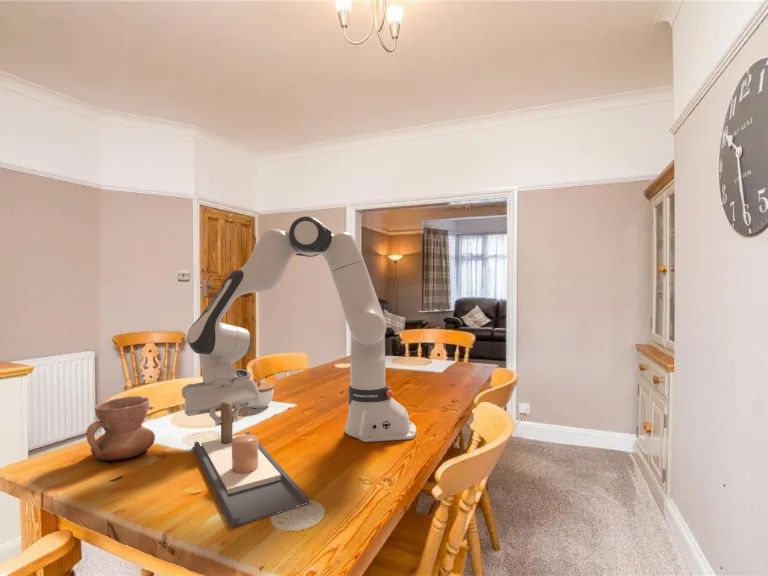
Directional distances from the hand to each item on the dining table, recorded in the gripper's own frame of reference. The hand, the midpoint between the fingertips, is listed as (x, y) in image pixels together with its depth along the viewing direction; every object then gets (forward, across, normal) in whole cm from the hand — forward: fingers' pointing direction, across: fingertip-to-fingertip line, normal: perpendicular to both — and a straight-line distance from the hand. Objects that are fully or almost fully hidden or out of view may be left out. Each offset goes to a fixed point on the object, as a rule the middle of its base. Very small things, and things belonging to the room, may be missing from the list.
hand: (227, 422), depth 113 cm
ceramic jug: (-3, -24, +14) cm, 28 cm away
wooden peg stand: (+13, 0, -3) cm, 14 cm away
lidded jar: (-18, +19, +29) cm, 39 cm away
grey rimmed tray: (+17, 0, -6) cm, 18 cm away
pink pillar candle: (+17, 0, -9) cm, 19 cm away
